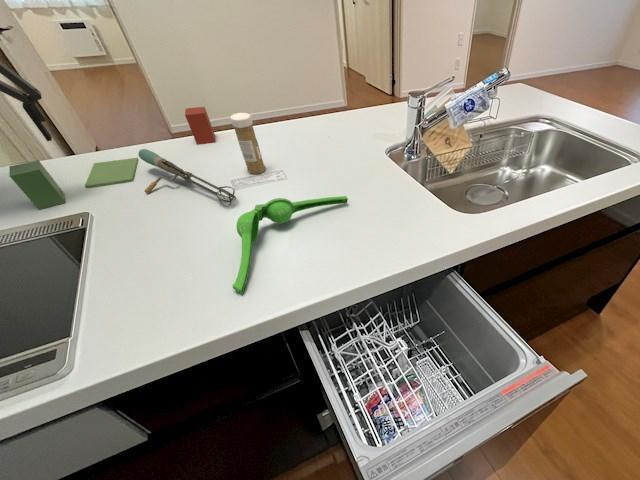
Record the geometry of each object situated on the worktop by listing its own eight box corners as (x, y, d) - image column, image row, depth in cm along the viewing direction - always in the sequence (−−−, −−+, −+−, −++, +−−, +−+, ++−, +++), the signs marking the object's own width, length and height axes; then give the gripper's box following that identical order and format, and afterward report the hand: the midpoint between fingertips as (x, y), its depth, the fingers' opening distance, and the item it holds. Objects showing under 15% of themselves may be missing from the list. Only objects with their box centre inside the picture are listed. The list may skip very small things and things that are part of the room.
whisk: (219, 236, 78) (200, 219, 72) (128, 186, 87) (105, 167, 81) (248, 201, 81) (232, 182, 75) (158, 156, 90) (137, 136, 84)
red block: (197, 137, 103) (185, 108, 97) (215, 135, 104) (204, 106, 98) (197, 144, 99) (184, 115, 94) (215, 142, 101) (204, 112, 95)
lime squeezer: (242, 295, 60) (230, 269, 56) (195, 272, 64) (180, 246, 59) (350, 204, 80) (348, 179, 76) (310, 190, 84) (305, 165, 79)
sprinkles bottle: (269, 168, 91) (254, 114, 81) (257, 176, 88) (240, 120, 78) (255, 164, 92) (239, 110, 82) (243, 172, 89) (225, 116, 79)
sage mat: (95, 165, 90) (94, 163, 90) (138, 159, 93) (137, 157, 92) (86, 188, 83) (84, 185, 82) (133, 181, 85) (131, 178, 85)
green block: (38, 199, 79) (9, 166, 73) (64, 193, 81) (38, 160, 75) (38, 209, 76) (9, 176, 70) (65, 202, 78) (39, 169, 72)
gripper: (-240, 22, 47) (-80, 171, 62) (-3, 7, 57) (83, 138, 72) (-219, 13, 51) (-74, 155, 66) (-1, 0, 61) (79, 126, 76)
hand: (8, 146), depth 69 cm, fingers open, 13 cm apart
